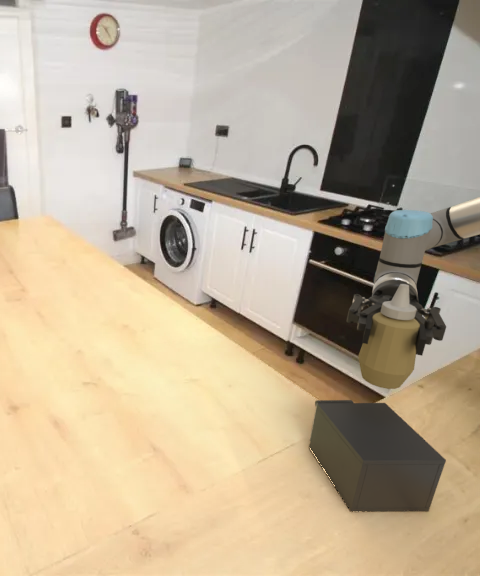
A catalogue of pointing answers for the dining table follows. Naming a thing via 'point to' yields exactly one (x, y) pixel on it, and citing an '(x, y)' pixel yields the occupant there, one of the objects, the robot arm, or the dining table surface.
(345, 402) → the drawer
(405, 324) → the squeeze bottle
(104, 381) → the dining table surface
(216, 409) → the dining table surface
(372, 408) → the cabinet
